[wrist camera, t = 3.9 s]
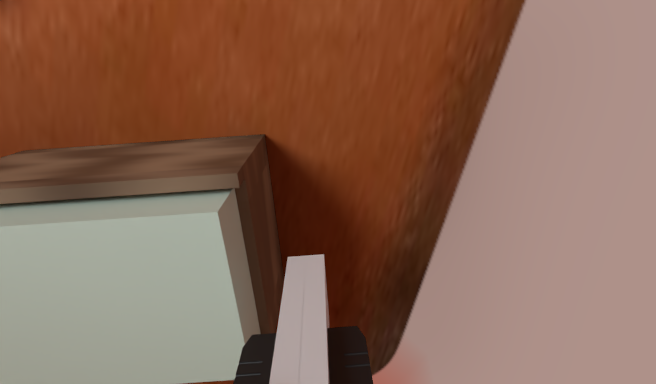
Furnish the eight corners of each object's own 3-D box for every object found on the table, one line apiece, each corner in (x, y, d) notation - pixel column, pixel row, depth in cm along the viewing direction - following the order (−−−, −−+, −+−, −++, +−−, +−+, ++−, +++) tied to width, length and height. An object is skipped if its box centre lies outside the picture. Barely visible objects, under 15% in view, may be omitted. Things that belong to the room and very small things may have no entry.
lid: (8, 352, 17) (-40, 398, 15) (-74, 207, 14) (-151, 237, 12) (260, 335, 17) (251, 378, 15) (234, 186, 14) (217, 211, 12)
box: (81, 291, 23) (-12, 383, 17) (23, 150, 19) (-127, 197, 13) (283, 277, 23) (270, 363, 17) (264, 134, 19) (236, 173, 13)
